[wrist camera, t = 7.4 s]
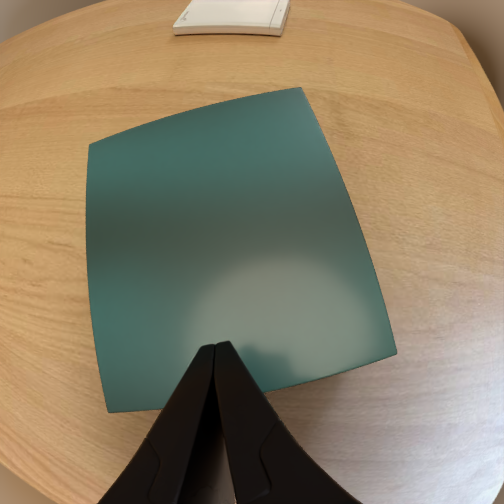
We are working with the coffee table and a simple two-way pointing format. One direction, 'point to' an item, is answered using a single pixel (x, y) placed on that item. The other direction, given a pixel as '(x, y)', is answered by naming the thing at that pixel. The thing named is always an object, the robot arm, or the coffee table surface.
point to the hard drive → (233, 17)
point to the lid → (226, 251)
